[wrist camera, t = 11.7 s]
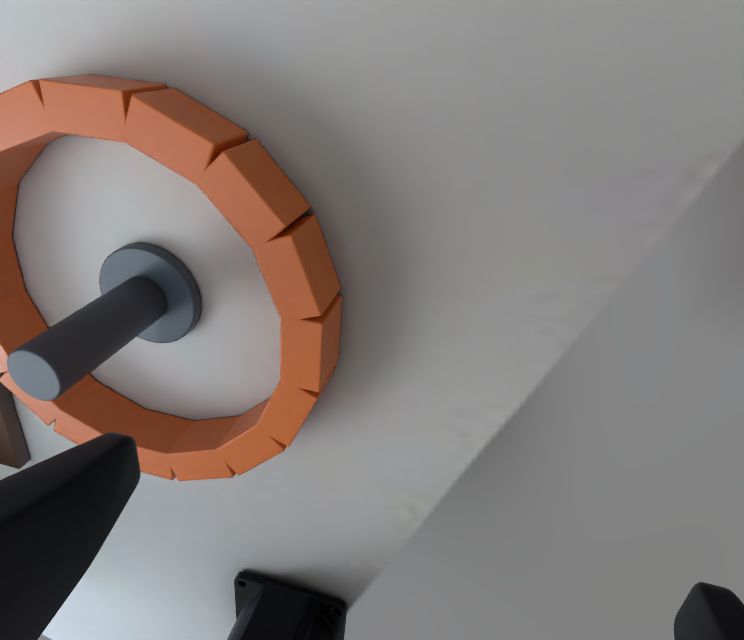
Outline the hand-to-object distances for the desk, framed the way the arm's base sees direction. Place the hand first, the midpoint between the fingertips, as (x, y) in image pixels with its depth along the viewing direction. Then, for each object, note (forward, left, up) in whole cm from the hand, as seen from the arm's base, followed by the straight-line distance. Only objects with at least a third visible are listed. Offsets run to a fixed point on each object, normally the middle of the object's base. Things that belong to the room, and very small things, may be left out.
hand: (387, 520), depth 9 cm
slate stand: (-4, +12, -12) cm, 18 cm away
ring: (-4, +12, -12) cm, 18 cm away
